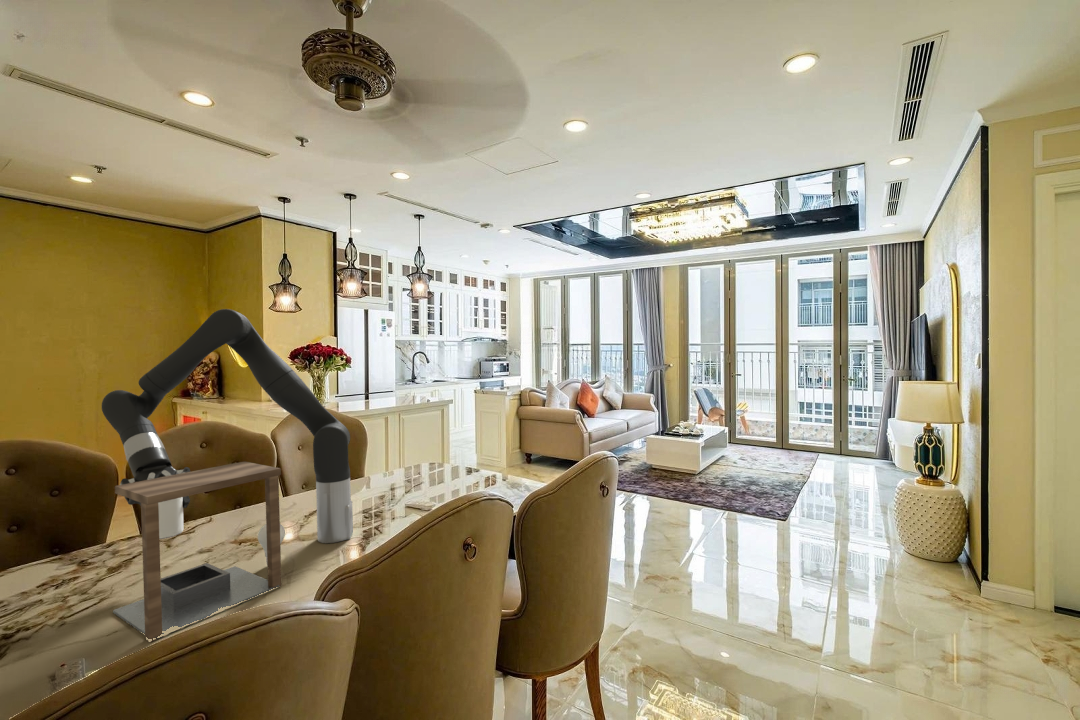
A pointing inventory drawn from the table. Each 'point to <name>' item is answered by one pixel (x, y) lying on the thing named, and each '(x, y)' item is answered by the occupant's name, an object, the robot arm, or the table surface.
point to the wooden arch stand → (188, 485)
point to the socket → (197, 595)
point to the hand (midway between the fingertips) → (169, 510)
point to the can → (170, 518)
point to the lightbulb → (263, 537)
